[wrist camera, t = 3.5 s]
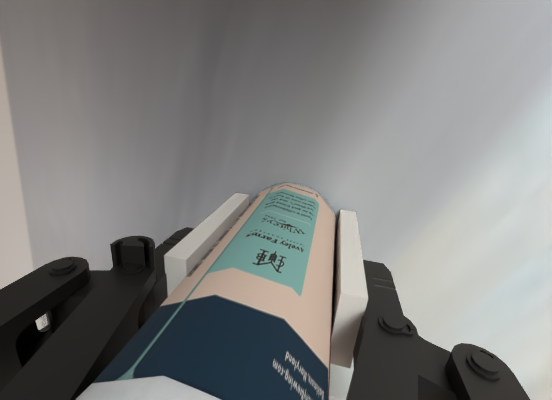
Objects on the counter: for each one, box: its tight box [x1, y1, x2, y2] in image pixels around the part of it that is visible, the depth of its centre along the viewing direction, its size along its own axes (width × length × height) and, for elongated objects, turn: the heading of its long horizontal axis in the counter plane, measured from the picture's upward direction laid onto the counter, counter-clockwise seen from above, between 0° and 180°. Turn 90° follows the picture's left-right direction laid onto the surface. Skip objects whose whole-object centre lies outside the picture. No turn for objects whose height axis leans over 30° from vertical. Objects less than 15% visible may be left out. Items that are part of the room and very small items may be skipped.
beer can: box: [75, 183, 337, 400], centre depth 9 cm, size 5×5×12 cm
